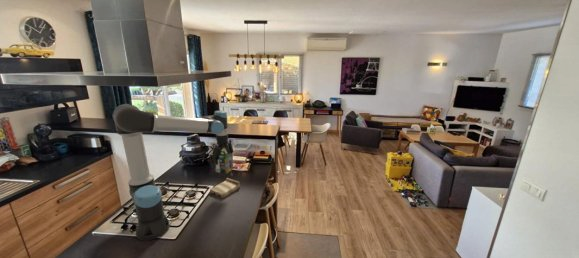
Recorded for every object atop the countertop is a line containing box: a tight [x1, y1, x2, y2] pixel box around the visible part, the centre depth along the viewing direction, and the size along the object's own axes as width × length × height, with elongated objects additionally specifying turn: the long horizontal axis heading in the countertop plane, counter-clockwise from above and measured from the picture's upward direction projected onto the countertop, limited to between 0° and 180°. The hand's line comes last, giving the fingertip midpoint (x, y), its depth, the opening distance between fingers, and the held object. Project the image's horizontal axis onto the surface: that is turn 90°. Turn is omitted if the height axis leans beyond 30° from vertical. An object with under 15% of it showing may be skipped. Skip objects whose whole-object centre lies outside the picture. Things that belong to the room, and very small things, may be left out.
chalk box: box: [213, 150, 234, 175], centre depth 153 cm, size 9×9×15 cm
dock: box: [209, 177, 241, 199], centre depth 159 cm, size 16×12×5 cm
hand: (223, 165), depth 154 cm, fingers closed on chalk box, 10 cm apart
